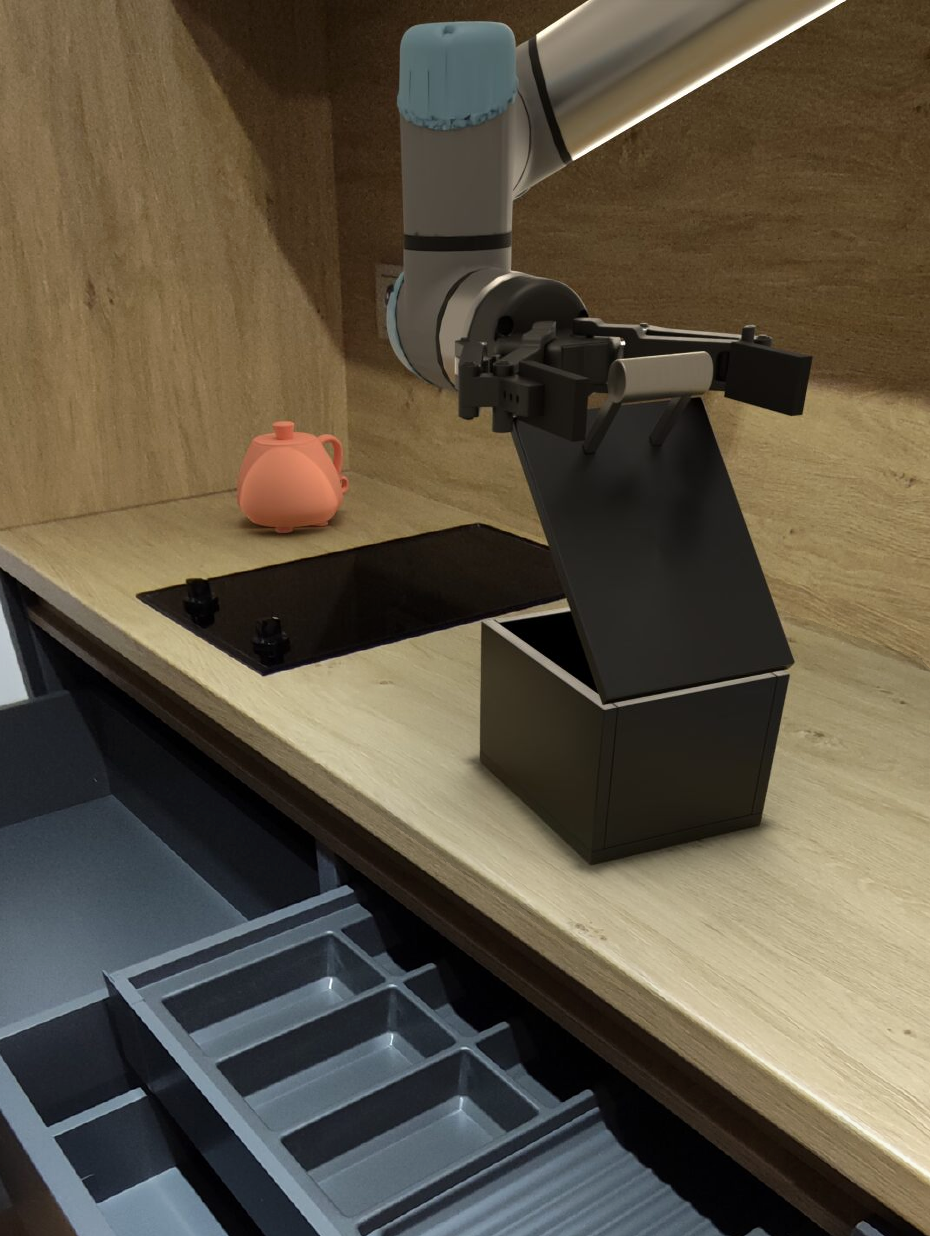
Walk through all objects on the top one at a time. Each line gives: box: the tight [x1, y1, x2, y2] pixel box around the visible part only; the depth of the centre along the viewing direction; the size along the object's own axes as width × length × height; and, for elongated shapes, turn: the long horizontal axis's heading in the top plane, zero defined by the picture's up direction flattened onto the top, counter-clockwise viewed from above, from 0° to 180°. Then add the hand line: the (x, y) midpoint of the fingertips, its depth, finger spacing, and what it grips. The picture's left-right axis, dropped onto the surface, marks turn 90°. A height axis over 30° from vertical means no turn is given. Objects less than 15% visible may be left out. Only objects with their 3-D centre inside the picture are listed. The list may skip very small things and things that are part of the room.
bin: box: [479, 606, 791, 866], centre depth 74 cm, size 17×13×10 cm
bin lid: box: [509, 351, 795, 705], centre depth 62 cm, size 18×13×7 cm
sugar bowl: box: [236, 420, 350, 534], centre depth 128 cm, size 12×14×10 cm
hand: (695, 398), depth 58 cm, fingers open, 13 cm apart
